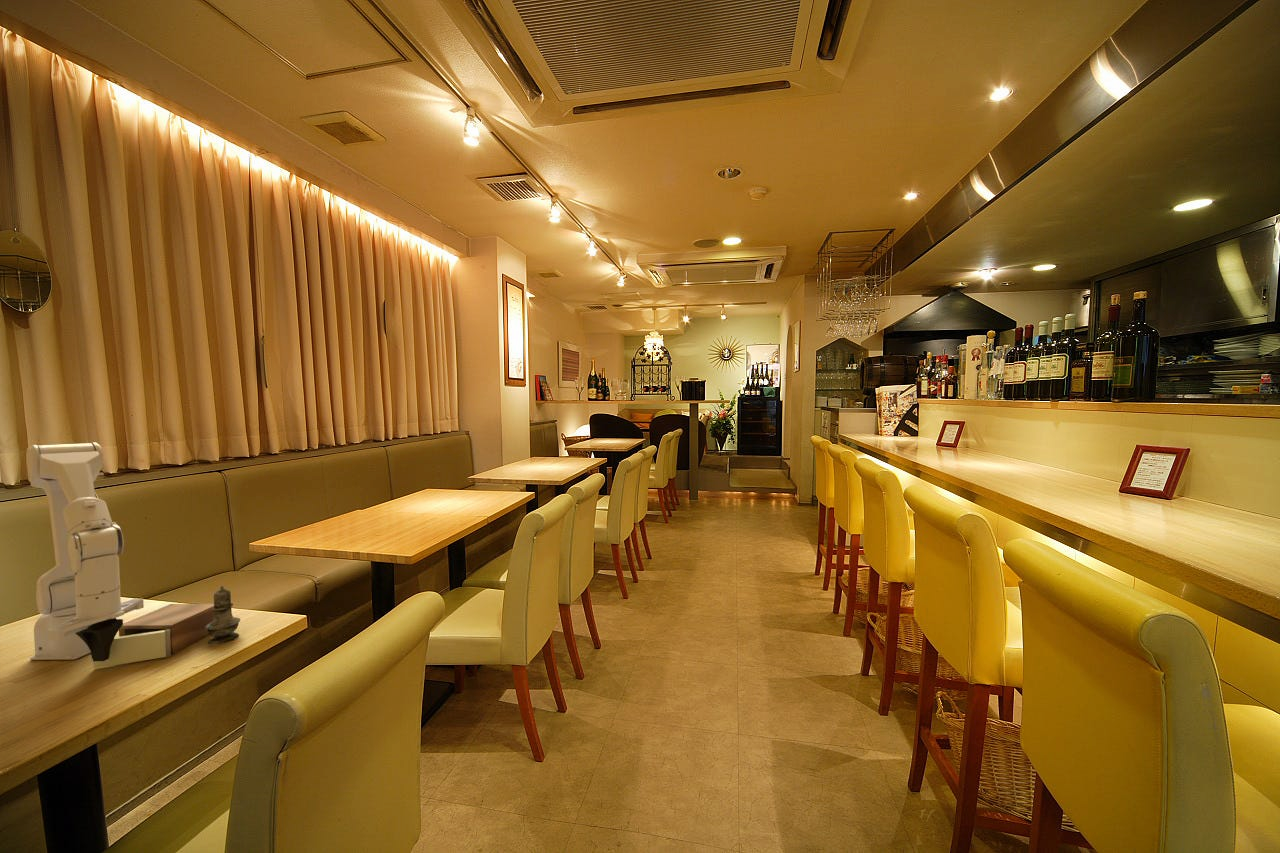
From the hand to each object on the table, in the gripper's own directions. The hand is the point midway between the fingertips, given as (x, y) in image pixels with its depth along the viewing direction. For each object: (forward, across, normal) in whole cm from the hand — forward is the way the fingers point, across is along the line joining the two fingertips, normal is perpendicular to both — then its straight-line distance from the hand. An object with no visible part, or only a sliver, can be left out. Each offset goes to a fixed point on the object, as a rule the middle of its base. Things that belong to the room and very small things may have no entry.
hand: (101, 659), depth 92 cm
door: (+2, +3, -3) cm, 5 cm away
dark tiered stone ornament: (+3, +14, -12) cm, 18 cm away
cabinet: (+2, +12, -2) cm, 12 cm away
